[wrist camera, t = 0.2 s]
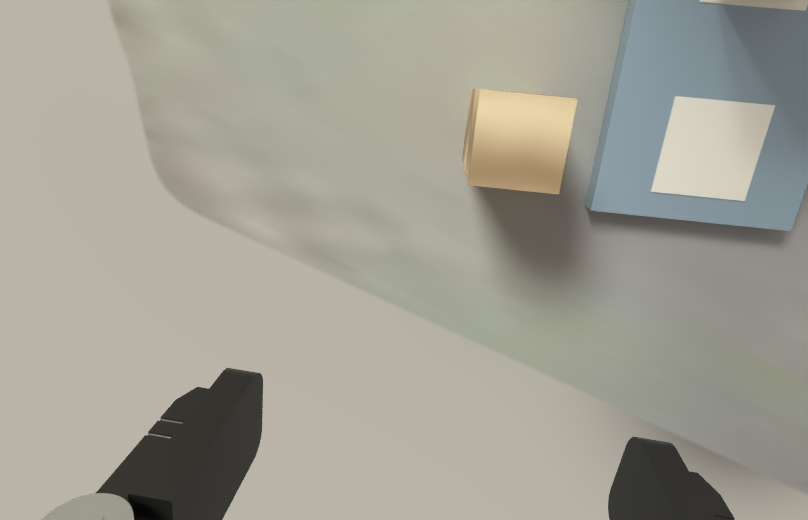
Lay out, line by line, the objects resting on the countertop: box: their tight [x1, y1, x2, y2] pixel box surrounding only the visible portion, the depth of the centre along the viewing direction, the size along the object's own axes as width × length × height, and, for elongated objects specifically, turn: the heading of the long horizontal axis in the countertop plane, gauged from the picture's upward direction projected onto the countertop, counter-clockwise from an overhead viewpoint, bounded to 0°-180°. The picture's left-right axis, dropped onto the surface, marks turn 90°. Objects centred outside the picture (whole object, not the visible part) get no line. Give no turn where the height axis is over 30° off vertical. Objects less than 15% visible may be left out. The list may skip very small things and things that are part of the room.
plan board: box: [585, 0, 808, 231], centre depth 33 cm, size 22×14×2 cm, turn 175°
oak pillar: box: [462, 88, 577, 194], centre depth 32 cm, size 5×5×10 cm
